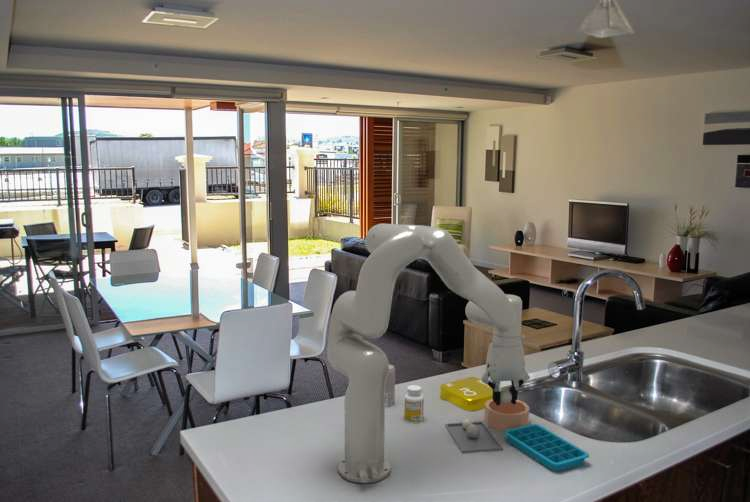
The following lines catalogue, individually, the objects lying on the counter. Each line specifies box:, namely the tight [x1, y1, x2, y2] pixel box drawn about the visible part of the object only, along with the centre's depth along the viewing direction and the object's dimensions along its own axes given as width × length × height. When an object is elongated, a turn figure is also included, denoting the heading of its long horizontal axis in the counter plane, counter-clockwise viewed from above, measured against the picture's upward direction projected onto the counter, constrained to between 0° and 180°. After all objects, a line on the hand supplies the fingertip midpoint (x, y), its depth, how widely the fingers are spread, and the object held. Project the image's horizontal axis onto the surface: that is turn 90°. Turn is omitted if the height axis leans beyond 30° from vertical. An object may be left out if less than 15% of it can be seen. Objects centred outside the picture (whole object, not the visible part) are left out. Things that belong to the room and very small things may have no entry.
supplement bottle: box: [404, 384, 425, 424], centre depth 176 cm, size 5×5×10 cm
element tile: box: [439, 376, 504, 412], centre depth 191 cm, size 15×15×5 cm
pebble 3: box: [500, 388, 512, 404], centre depth 172 cm, size 4×4×4 cm
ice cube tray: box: [503, 423, 590, 472], centre depth 157 cm, size 12×20×3 cm, turn 27°
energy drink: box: [385, 363, 396, 408], centre depth 186 cm, size 5×5×12 cm
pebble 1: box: [461, 417, 474, 429], centre depth 169 cm, size 3×3×3 cm
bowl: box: [483, 399, 530, 432], centre depth 174 cm, size 12×12×5 cm
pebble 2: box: [466, 424, 480, 438], centre depth 165 cm, size 4×4×4 cm
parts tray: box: [444, 421, 504, 454], centre depth 165 cm, size 16×11×1 cm
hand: (504, 402), depth 172 cm, fingers closed on pebble 3, 3 cm apart
